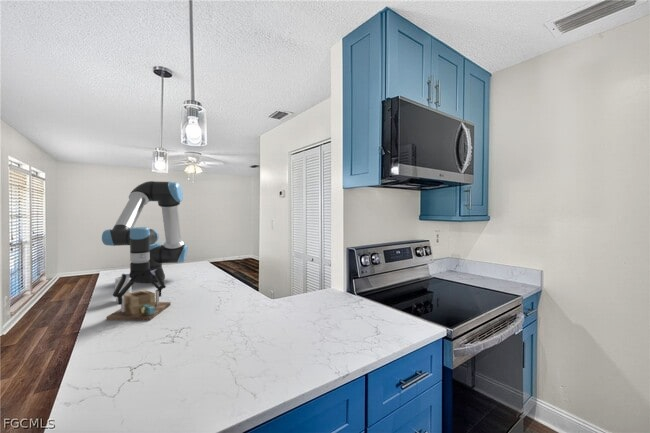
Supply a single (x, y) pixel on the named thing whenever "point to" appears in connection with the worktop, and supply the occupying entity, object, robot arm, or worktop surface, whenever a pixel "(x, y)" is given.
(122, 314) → the base board
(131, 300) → the hollow wooden frame
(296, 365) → the worktop surface
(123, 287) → the mug
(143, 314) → the dowel
